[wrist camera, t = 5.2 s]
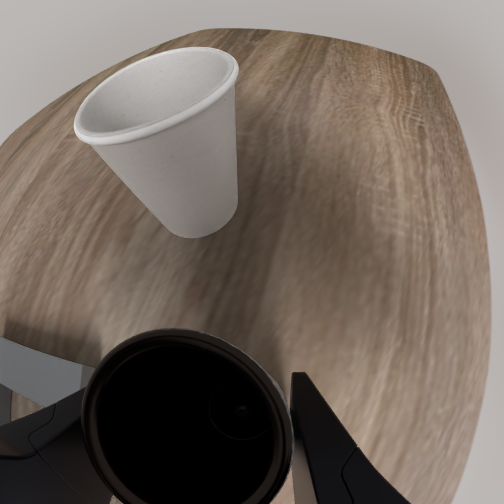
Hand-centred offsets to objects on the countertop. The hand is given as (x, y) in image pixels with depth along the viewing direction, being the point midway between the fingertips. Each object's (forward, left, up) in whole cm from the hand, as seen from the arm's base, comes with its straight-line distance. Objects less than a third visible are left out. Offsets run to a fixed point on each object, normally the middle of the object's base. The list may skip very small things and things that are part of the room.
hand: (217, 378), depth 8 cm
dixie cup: (+12, +4, -7) cm, 14 cm away
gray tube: (-1, 0, -7) cm, 7 cm away
